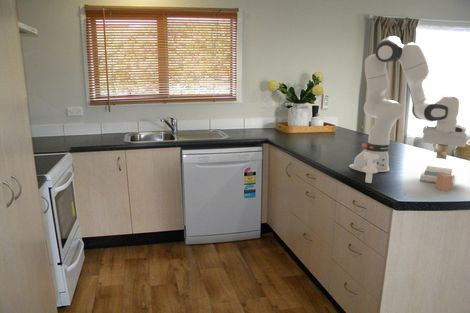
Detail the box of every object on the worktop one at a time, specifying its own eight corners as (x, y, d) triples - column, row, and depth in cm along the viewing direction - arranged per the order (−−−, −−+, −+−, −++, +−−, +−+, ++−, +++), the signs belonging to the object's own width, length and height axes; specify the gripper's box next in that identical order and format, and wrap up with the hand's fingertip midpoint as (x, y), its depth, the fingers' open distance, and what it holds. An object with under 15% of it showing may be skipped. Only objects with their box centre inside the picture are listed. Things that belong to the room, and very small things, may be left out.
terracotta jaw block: (450, 190, 166) (452, 176, 165) (441, 190, 166) (443, 176, 164) (444, 187, 171) (446, 173, 169) (435, 187, 170) (437, 173, 169)
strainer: (360, 179, 181) (363, 150, 177) (375, 180, 179) (378, 151, 175) (361, 183, 174) (364, 153, 170) (376, 184, 172) (380, 154, 168)
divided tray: (451, 186, 173) (452, 180, 172) (419, 180, 180) (420, 175, 179) (453, 174, 193) (454, 169, 193) (424, 170, 201) (425, 165, 200)
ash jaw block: (436, 157, 189) (438, 145, 187) (436, 156, 192) (438, 143, 191) (445, 159, 186) (447, 146, 185) (446, 157, 190) (448, 144, 188)
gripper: (423, 126, 188) (419, 151, 192) (468, 129, 177) (464, 156, 181) (424, 124, 193) (421, 149, 197) (468, 128, 183) (464, 154, 186)
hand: (442, 152), depth 189 cm, fingers closed on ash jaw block, 4 cm apart
